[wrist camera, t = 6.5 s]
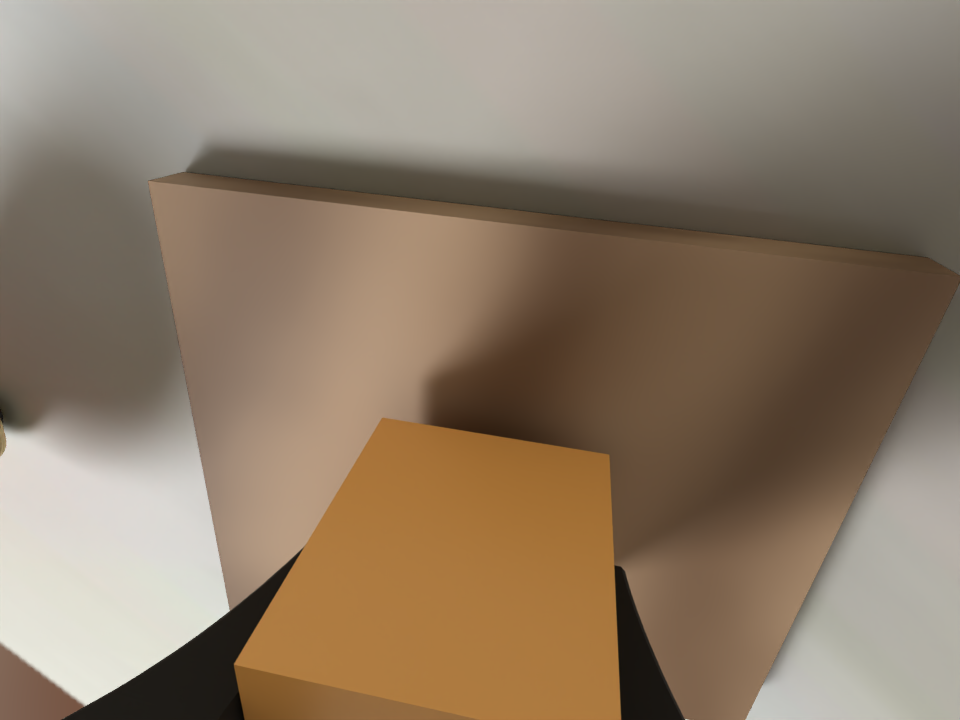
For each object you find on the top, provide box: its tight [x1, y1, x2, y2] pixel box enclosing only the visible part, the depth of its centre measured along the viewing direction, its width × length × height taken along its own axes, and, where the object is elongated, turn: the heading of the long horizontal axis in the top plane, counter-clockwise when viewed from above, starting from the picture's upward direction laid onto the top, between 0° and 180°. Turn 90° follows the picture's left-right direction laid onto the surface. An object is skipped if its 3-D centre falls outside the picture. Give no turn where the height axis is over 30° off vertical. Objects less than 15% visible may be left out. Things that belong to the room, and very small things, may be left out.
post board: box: [148, 172, 960, 720], centre depth 13 cm, size 16×14×6 cm
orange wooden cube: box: [234, 418, 621, 720], centre depth 11 cm, size 5×5×6 cm
